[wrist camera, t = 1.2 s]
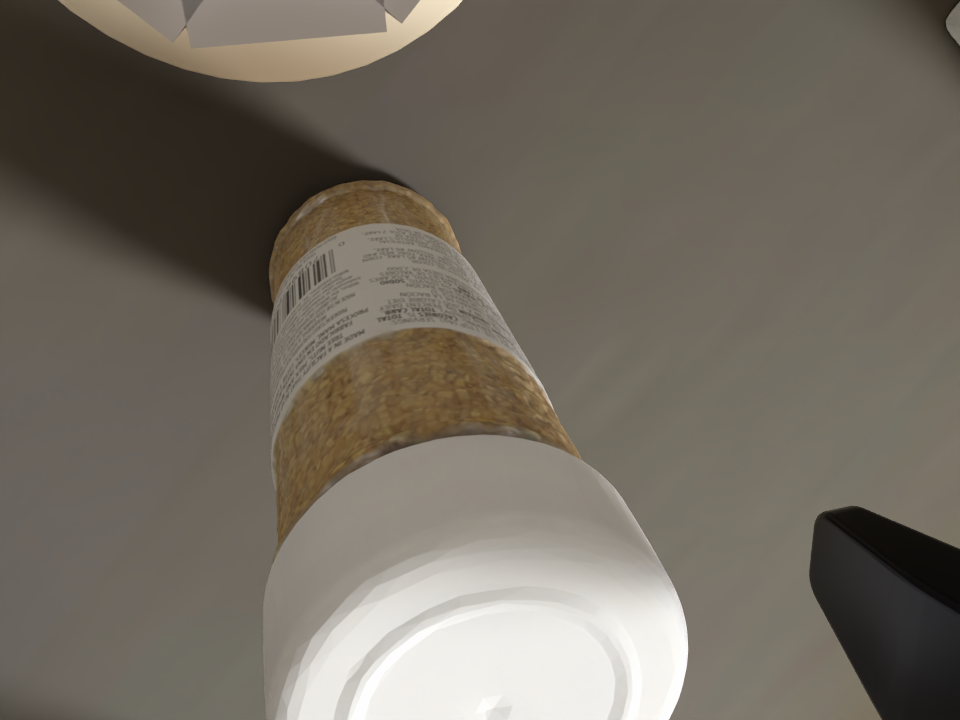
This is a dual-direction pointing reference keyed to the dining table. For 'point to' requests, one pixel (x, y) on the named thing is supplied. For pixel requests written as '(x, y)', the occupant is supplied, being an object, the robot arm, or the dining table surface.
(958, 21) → the light bulb box
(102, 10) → the collar socket
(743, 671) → the dining table surface
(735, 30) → the dining table surface
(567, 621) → the sprinkles bottle
